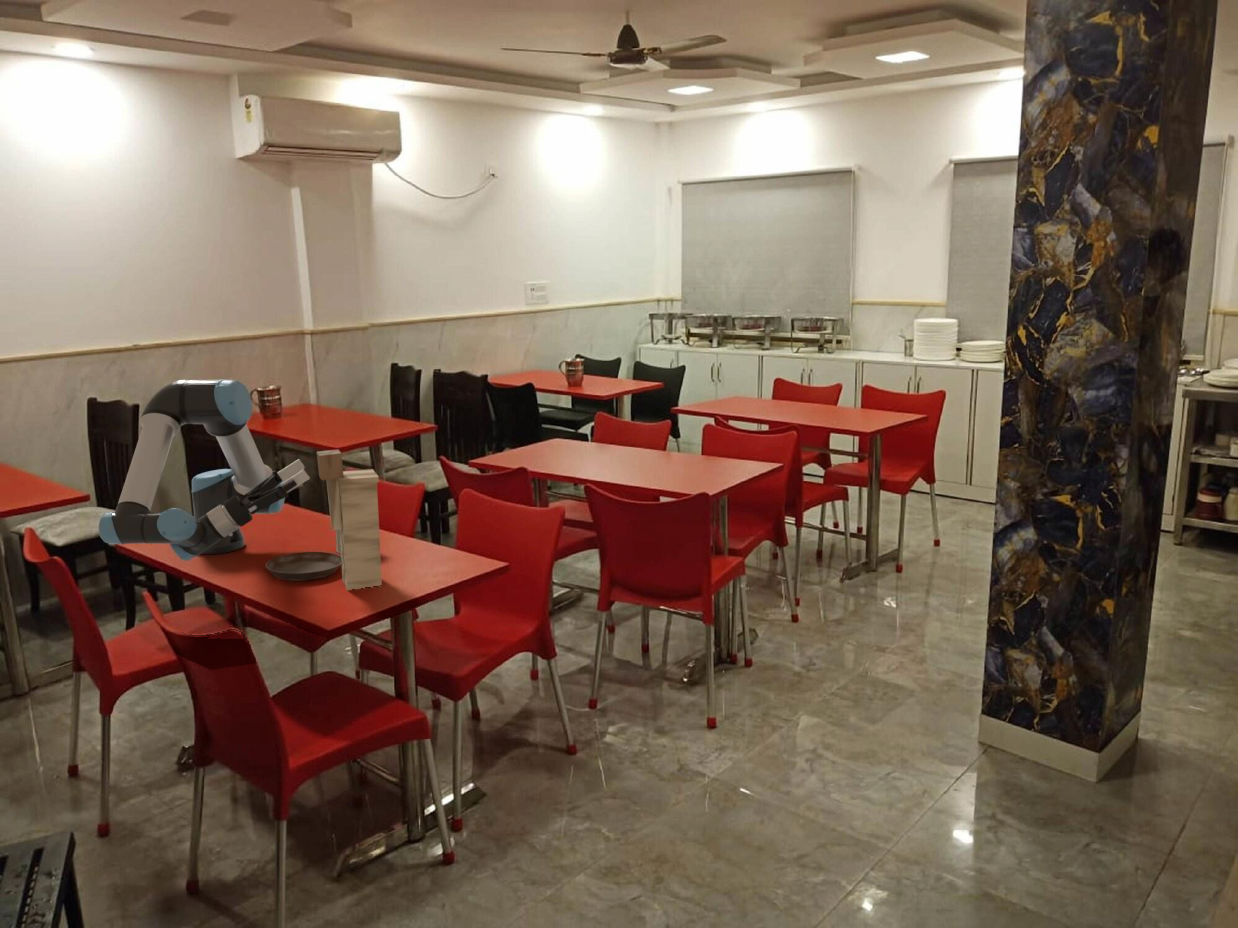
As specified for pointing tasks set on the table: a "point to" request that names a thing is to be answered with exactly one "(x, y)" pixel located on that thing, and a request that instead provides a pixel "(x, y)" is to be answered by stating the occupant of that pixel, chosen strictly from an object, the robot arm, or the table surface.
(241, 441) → the robot arm
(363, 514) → the stand
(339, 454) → the mallet
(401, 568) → the table surface
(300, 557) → the plant saucer
